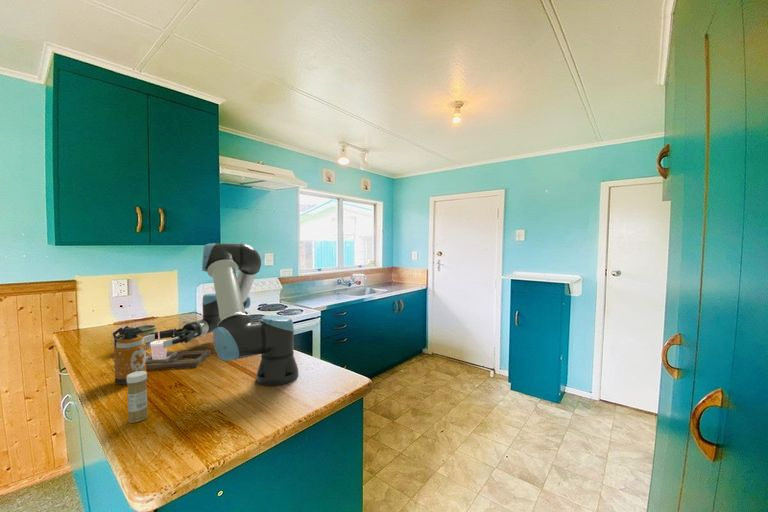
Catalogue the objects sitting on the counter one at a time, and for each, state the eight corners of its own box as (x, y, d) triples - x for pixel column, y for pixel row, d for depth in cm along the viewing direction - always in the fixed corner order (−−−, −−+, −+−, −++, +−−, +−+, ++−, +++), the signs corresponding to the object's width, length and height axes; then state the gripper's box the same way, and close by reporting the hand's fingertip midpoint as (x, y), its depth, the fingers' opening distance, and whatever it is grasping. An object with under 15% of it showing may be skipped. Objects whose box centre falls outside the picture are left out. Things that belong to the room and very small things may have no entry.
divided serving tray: (196, 367, 126) (196, 360, 126) (133, 370, 122) (133, 363, 122) (210, 354, 141) (210, 347, 141) (154, 357, 137) (154, 350, 137)
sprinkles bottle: (146, 413, 92) (145, 368, 91) (149, 419, 89) (148, 373, 88) (126, 419, 88) (125, 373, 88) (128, 425, 85) (127, 378, 85)
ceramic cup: (152, 349, 146) (152, 329, 146) (126, 352, 142) (126, 331, 142) (161, 341, 158) (160, 322, 158) (137, 344, 154) (137, 324, 154)
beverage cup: (171, 361, 131) (170, 329, 131) (154, 366, 126) (153, 333, 126) (164, 359, 135) (163, 327, 134) (147, 363, 129) (146, 331, 129)
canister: (128, 387, 108) (127, 331, 107) (103, 383, 110) (102, 329, 110) (152, 376, 117) (151, 324, 116) (129, 373, 119) (127, 322, 118)
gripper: (216, 339, 144) (175, 355, 124) (174, 335, 151) (128, 349, 130) (216, 323, 144) (174, 336, 123) (174, 320, 150) (128, 331, 130)
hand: (151, 343), depth 127 cm, fingers open, 13 cm apart
